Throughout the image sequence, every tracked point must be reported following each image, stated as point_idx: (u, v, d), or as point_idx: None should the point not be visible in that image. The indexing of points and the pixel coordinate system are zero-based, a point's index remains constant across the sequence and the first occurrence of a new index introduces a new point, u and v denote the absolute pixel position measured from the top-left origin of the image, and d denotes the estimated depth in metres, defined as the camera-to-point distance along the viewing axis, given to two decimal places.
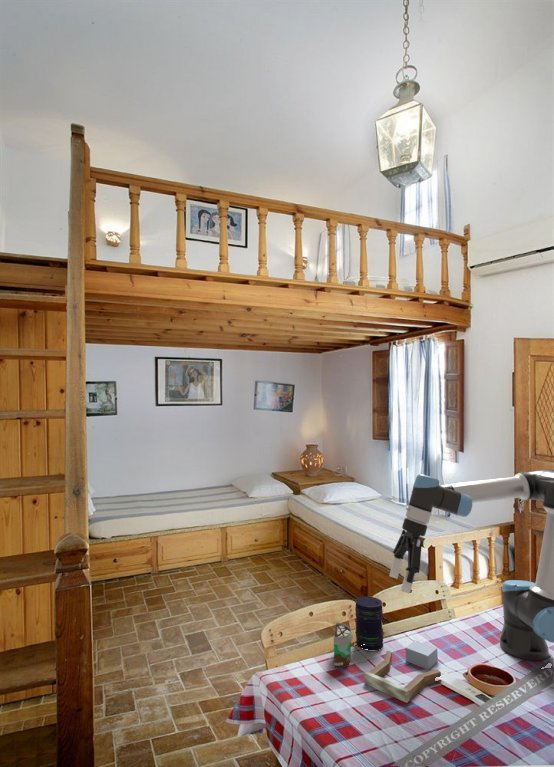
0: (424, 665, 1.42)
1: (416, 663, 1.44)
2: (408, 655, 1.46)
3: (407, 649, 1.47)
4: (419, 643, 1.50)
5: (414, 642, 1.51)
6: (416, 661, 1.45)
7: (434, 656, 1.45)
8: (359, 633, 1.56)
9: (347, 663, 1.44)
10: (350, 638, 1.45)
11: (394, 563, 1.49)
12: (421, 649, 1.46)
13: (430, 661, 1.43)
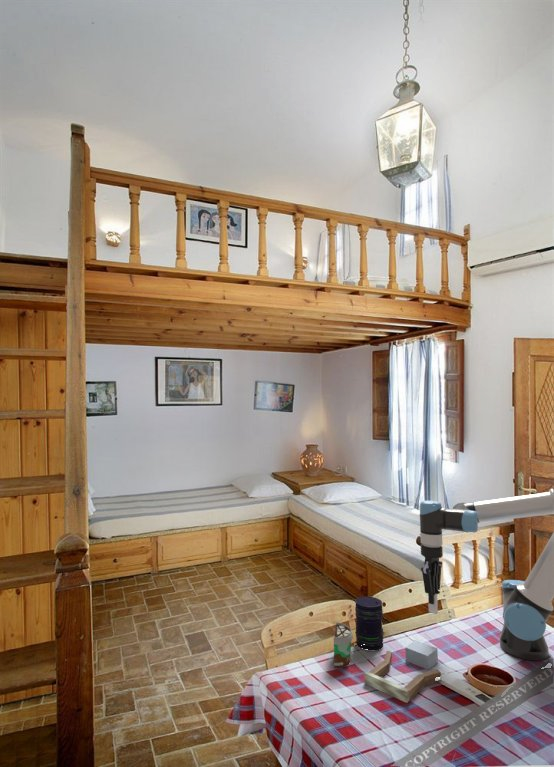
0: (424, 665, 1.42)
1: (416, 663, 1.44)
2: (408, 655, 1.46)
3: (407, 649, 1.47)
4: (419, 643, 1.50)
5: (414, 642, 1.51)
6: (415, 661, 1.45)
7: (434, 656, 1.45)
8: (359, 633, 1.56)
9: (347, 663, 1.44)
10: (350, 638, 1.45)
11: None
12: (421, 649, 1.46)
13: (430, 661, 1.43)
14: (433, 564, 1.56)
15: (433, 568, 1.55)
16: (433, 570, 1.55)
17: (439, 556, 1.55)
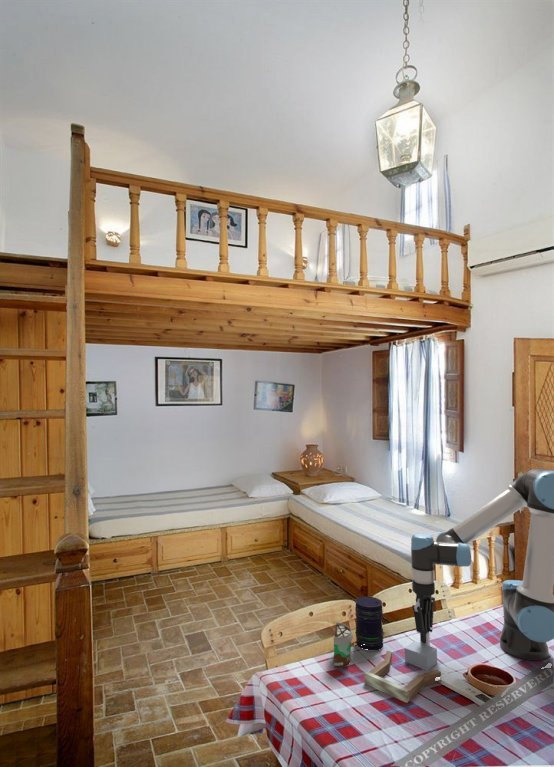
0: (423, 665, 1.42)
1: (415, 663, 1.44)
2: (407, 655, 1.46)
3: (406, 649, 1.46)
4: (419, 643, 1.50)
5: (414, 642, 1.50)
6: (415, 661, 1.44)
7: (433, 657, 1.44)
8: (359, 633, 1.56)
9: (347, 663, 1.44)
10: (350, 638, 1.45)
11: None
12: (420, 649, 1.46)
13: (429, 662, 1.42)
14: (425, 601, 1.49)
15: (425, 606, 1.49)
16: (425, 608, 1.49)
17: (431, 593, 1.48)
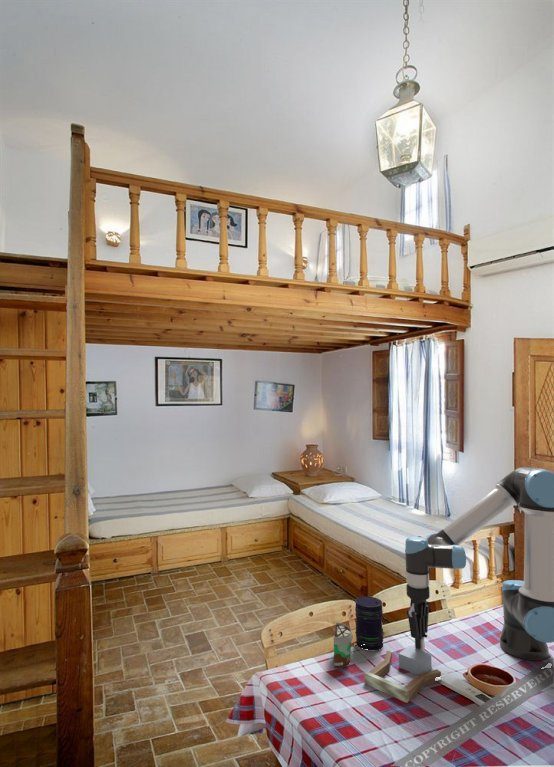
0: (417, 672, 1.39)
1: (409, 670, 1.40)
2: (402, 661, 1.42)
3: (400, 655, 1.43)
4: (413, 649, 1.46)
5: (408, 648, 1.47)
6: (409, 667, 1.41)
7: (428, 662, 1.41)
8: (359, 633, 1.56)
9: (347, 663, 1.44)
10: (350, 638, 1.45)
11: None
12: (414, 655, 1.42)
13: (424, 668, 1.39)
14: (419, 606, 1.46)
15: (419, 610, 1.46)
16: (419, 613, 1.45)
17: (426, 598, 1.45)
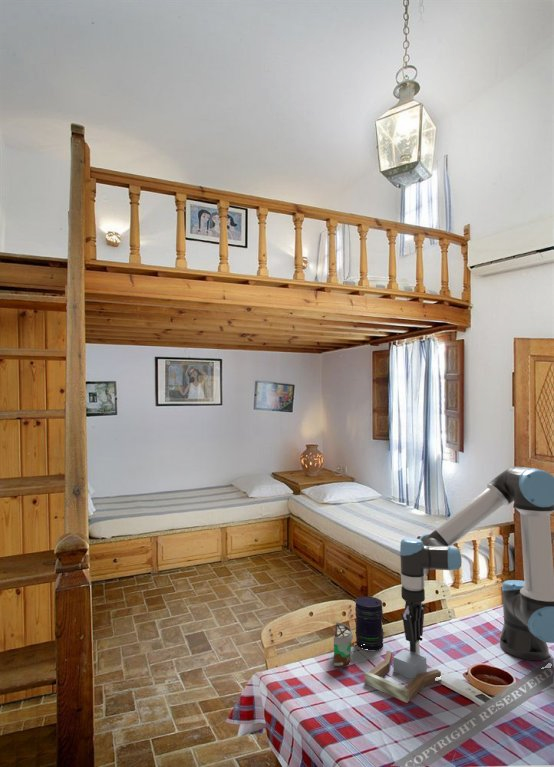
0: (412, 676, 1.36)
1: (404, 673, 1.38)
2: (396, 665, 1.40)
3: (395, 659, 1.41)
4: (407, 652, 1.44)
5: (402, 651, 1.45)
6: (403, 671, 1.38)
7: (423, 666, 1.39)
8: (359, 633, 1.56)
9: (347, 663, 1.44)
10: (350, 638, 1.45)
11: None
12: (409, 658, 1.40)
13: (418, 672, 1.36)
14: (414, 609, 1.43)
15: (414, 613, 1.43)
16: (414, 615, 1.43)
17: (421, 600, 1.43)
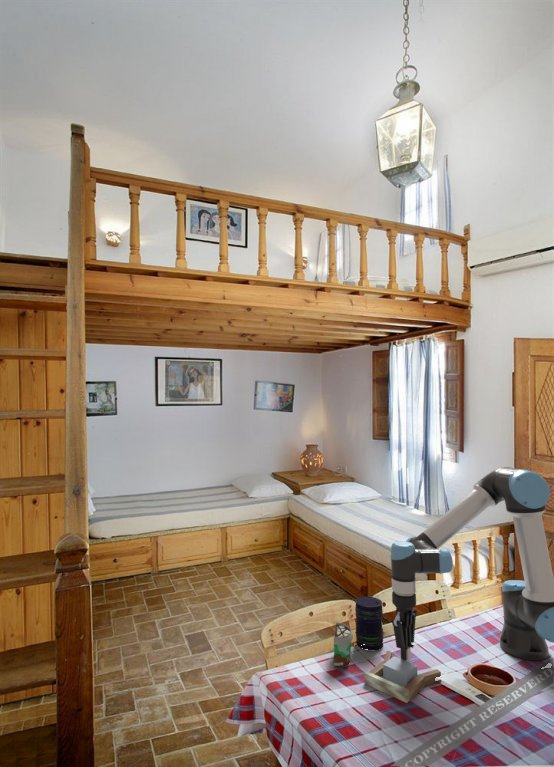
0: (402, 684, 1.32)
1: (394, 682, 1.34)
2: (386, 673, 1.36)
3: (385, 666, 1.36)
4: (398, 659, 1.39)
5: (393, 658, 1.40)
6: (393, 679, 1.34)
7: (413, 674, 1.34)
8: (359, 633, 1.56)
9: (347, 663, 1.44)
10: (350, 638, 1.45)
11: None
12: (399, 666, 1.35)
13: (409, 680, 1.32)
14: (405, 615, 1.39)
15: (405, 619, 1.39)
16: (405, 622, 1.38)
17: (412, 606, 1.38)
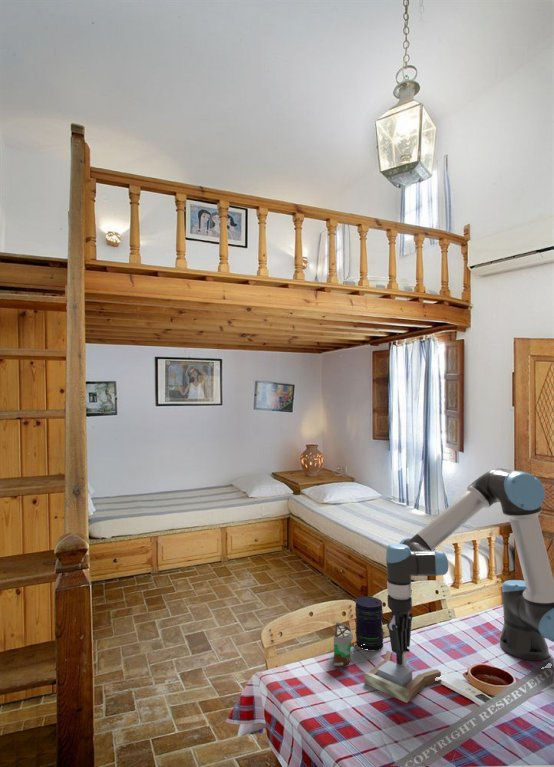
0: None
1: None
2: None
3: (379, 671, 1.34)
4: (393, 664, 1.37)
5: (387, 662, 1.38)
6: None
7: (408, 679, 1.32)
8: (359, 633, 1.56)
9: (347, 663, 1.44)
10: (350, 638, 1.45)
11: None
12: (394, 670, 1.33)
13: (403, 685, 1.30)
14: (401, 618, 1.36)
15: (401, 623, 1.36)
16: (401, 625, 1.36)
17: (407, 610, 1.36)
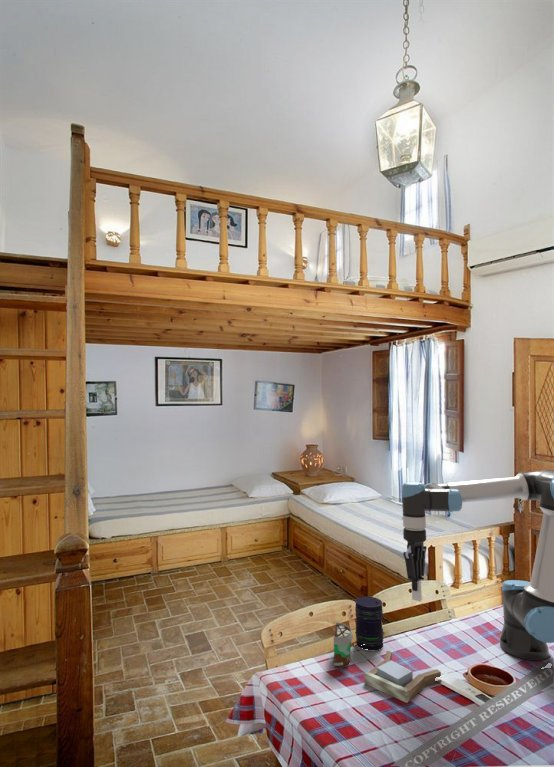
0: None
1: None
2: (380, 676, 1.34)
3: (378, 669, 1.35)
4: (394, 664, 1.37)
5: (389, 662, 1.38)
6: None
7: (407, 680, 1.31)
8: (359, 633, 1.56)
9: (347, 663, 1.44)
10: (350, 638, 1.45)
11: None
12: (393, 670, 1.33)
13: (401, 685, 1.29)
14: (416, 548, 1.47)
15: (416, 553, 1.47)
16: (416, 555, 1.47)
17: (422, 540, 1.46)
